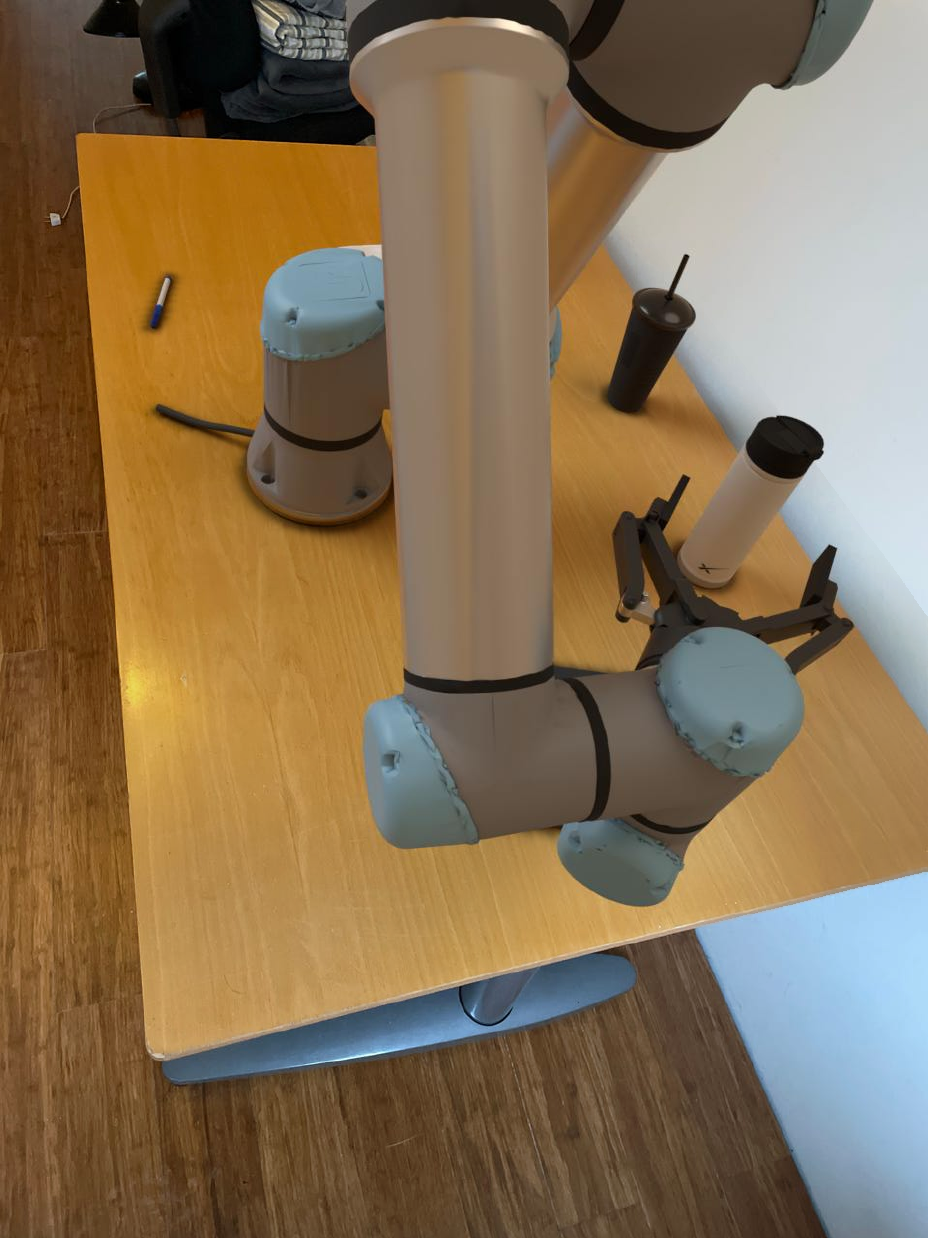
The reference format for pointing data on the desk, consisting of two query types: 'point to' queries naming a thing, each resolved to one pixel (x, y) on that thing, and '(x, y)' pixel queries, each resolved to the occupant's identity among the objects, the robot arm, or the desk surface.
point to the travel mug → (749, 498)
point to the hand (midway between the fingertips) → (751, 520)
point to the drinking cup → (649, 342)
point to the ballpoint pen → (160, 302)
